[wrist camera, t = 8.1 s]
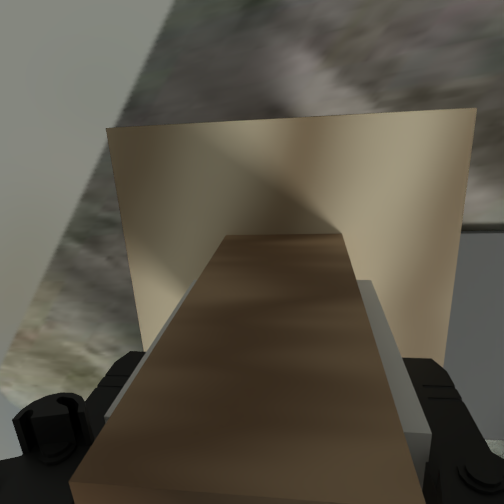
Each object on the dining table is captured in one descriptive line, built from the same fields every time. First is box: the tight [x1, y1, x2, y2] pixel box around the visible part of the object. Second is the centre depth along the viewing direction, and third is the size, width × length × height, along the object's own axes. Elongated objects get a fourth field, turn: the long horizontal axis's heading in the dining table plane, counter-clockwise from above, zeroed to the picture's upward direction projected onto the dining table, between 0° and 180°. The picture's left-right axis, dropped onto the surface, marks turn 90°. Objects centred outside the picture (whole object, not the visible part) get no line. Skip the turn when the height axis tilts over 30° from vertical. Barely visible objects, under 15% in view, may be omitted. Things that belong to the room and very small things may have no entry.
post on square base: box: [69, 108, 477, 504], centre depth 11 cm, size 13×13×12 cm
